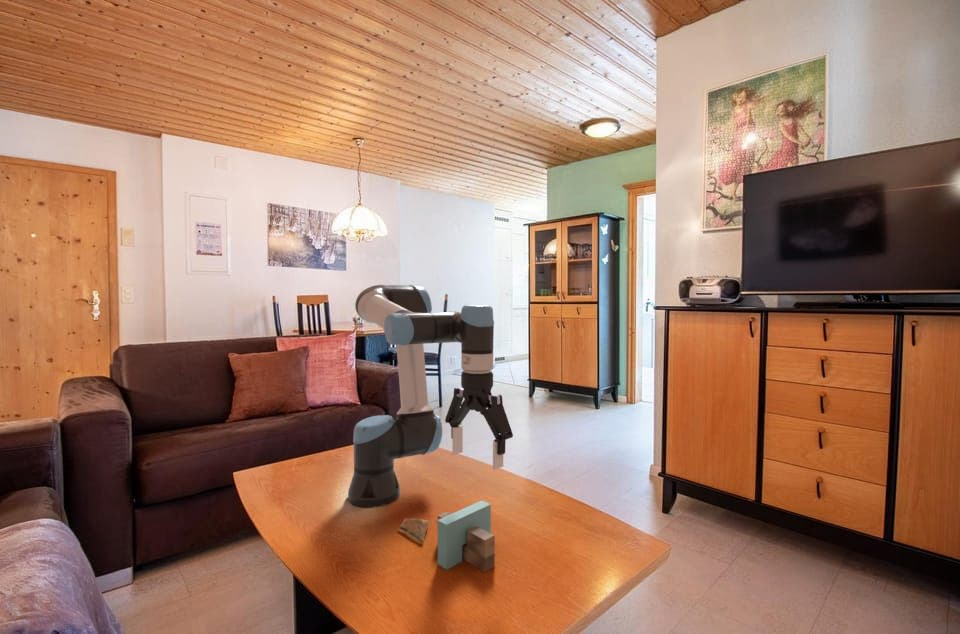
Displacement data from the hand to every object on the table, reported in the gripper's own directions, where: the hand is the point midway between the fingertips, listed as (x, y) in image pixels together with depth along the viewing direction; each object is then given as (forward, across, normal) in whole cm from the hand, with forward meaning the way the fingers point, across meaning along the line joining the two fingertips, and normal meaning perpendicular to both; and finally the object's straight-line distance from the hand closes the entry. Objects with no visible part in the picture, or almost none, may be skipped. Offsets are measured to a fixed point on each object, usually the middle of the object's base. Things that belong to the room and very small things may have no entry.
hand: (476, 460), depth 106 cm
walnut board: (+21, 0, -4) cm, 21 cm away
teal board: (+21, 0, -4) cm, 21 cm away
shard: (+22, -16, -5) cm, 27 cm away
